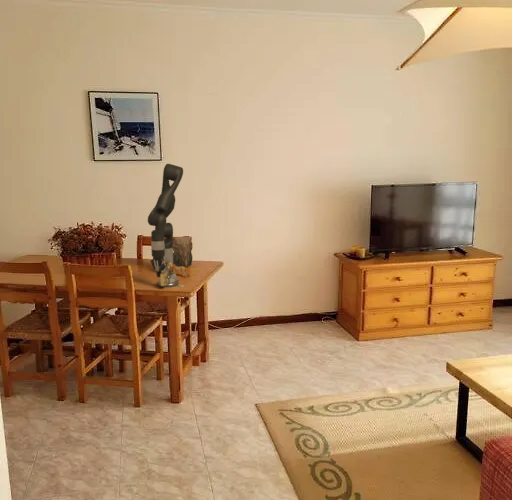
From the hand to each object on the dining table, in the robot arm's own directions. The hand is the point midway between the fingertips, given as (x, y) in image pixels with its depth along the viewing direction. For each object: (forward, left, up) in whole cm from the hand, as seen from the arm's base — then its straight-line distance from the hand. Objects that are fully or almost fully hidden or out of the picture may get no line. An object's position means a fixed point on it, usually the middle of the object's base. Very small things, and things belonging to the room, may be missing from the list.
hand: (159, 276), depth 288 cm
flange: (-1, +8, -7) cm, 10 cm away
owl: (-31, +45, -7) cm, 55 cm away
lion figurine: (-11, +23, -7) cm, 27 cm away
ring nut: (+1, +5, -4) cm, 7 cm away
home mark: (+8, +10, -7) cm, 14 cm away
